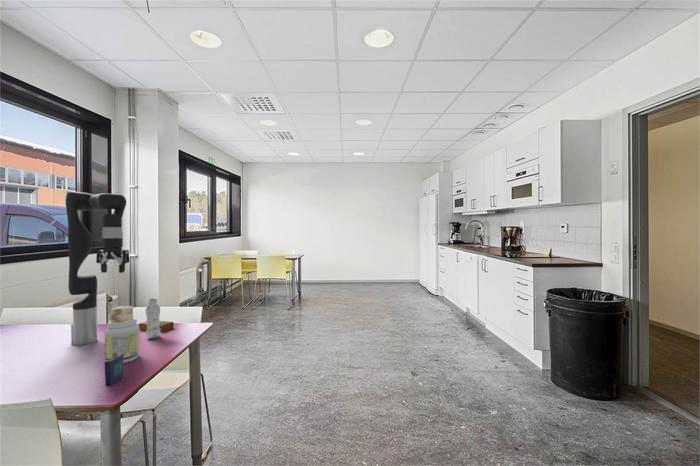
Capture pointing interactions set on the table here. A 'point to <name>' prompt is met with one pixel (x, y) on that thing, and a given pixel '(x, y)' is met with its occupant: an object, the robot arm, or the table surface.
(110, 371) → the flask
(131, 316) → the beech cube
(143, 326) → the carton
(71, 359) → the table surface
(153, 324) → the plastic bottle
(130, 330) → the supplement tub
